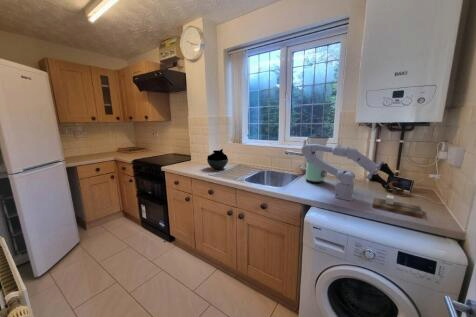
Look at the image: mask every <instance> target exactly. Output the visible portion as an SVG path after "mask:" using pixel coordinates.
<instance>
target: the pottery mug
mask: <svg viewBox="0 0 476 317" xmlns="http://www.w3.org/2000/svg"><path fill="white" fill-rule="evenodd" d="M387 183H388V184H387V185H383V184H381V187H382V188H384V190H385V191H389V190H391V194H393V195H396V194H402V193H404V192H405V185H404V184H403V183H401V182H400V181H399V182H398V181H391V182H387ZM398 185H399V187H402V188H397V187H396V186H398Z"/></svg>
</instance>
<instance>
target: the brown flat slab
mask: <svg viewBox="0 0 476 317" xmlns="http://www.w3.org/2000/svg"><path fill="white" fill-rule="evenodd" d="M371 208H374V209H377V210H378V209H379V210H383V211H387V212H392V213H395V214H401V215H406V216H410V217H413V218H418V219H423V216H424V213H423V210H422V207H421V206H419V205H414V204H410V203H405V202H400V201H399V202H398V201H394V200H393V205H391V204H386V199H384V198H379V197H378V198H377V197H373V200H372V207H371Z"/></svg>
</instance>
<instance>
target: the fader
mask: <svg viewBox="0 0 476 317" xmlns="http://www.w3.org/2000/svg"><path fill="white" fill-rule="evenodd" d="M394 198H395V196H394V195H390V194H387V195H386V198H385V200H386V204H391V205H393V201H394V200H395V199H394Z"/></svg>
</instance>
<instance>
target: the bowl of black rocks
mask: <svg viewBox="0 0 476 317" xmlns="http://www.w3.org/2000/svg"><path fill="white" fill-rule="evenodd" d="M223 150H224V149H223V148H221V149H219V150H217V149H215V150H213V151H212V153H211V154H208V155H207V159H206V161H207V164H208V166H209V167H210V168H212V169H214V170H222V169H223V168H225V167H226V166H227V165H228V161H229V158H228V155H226V154H225V153H224V152H223Z"/></svg>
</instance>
